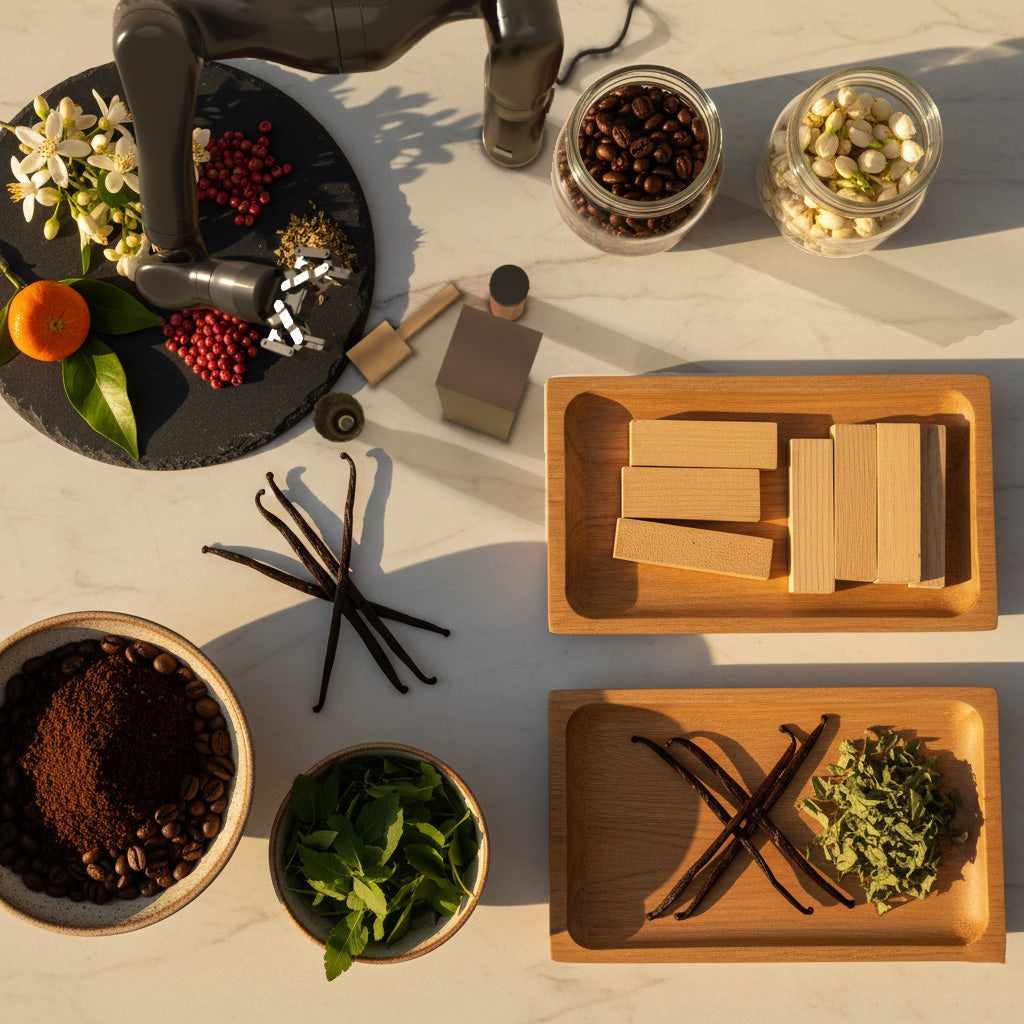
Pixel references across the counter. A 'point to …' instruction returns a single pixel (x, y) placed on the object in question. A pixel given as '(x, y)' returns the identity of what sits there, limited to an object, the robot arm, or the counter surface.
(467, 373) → the pedestal
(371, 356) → the spatula
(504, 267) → the jar lid
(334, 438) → the brown funnel
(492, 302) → the spice jar
